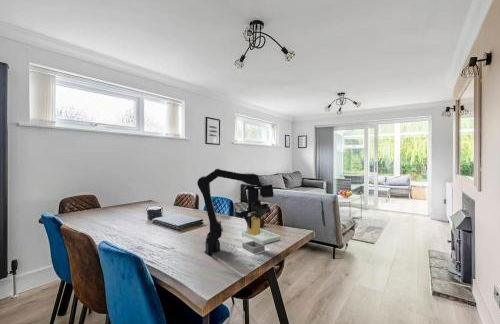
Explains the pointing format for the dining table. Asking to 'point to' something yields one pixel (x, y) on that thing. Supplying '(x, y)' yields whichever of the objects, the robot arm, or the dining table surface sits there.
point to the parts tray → (274, 236)
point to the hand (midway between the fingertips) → (253, 227)
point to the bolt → (262, 222)
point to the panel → (252, 248)
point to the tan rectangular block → (254, 226)
